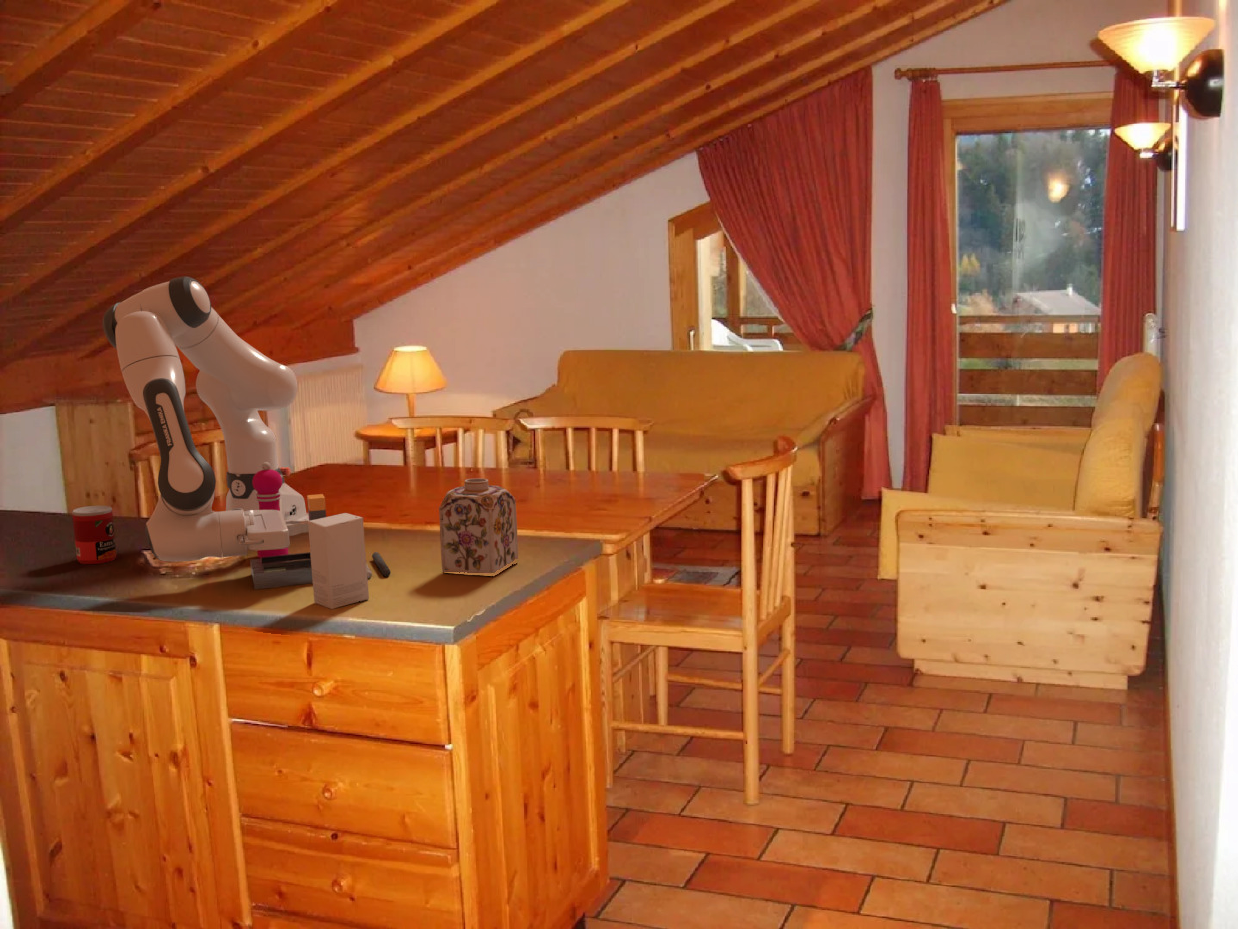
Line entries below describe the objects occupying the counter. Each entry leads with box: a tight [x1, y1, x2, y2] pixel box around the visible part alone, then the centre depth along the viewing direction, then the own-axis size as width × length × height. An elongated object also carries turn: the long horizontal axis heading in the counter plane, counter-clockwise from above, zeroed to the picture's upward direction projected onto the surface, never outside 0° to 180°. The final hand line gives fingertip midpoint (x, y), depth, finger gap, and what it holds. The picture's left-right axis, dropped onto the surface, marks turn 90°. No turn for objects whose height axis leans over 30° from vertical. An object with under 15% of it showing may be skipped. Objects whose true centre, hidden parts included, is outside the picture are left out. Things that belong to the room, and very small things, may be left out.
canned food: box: [71, 505, 117, 565], centre depth 265 cm, size 8×8×11 cm
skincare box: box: [308, 512, 370, 610], centre depth 228 cm, size 8×7×16 cm
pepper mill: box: [252, 462, 289, 559], centre depth 264 cm, size 7×7×20 cm
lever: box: [306, 493, 327, 521], centre depth 247 cm, size 3×4×12 cm
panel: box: [250, 551, 313, 590], centre depth 248 cm, size 18×12×4 cm, turn 109°
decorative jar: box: [438, 477, 519, 573], centre depth 249 cm, size 12×12×18 cm
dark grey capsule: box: [366, 551, 392, 579], centre depth 252 cm, size 16×5×2 cm, turn 19°
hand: (309, 525), depth 247 cm, fingers closed, pressing on lever
